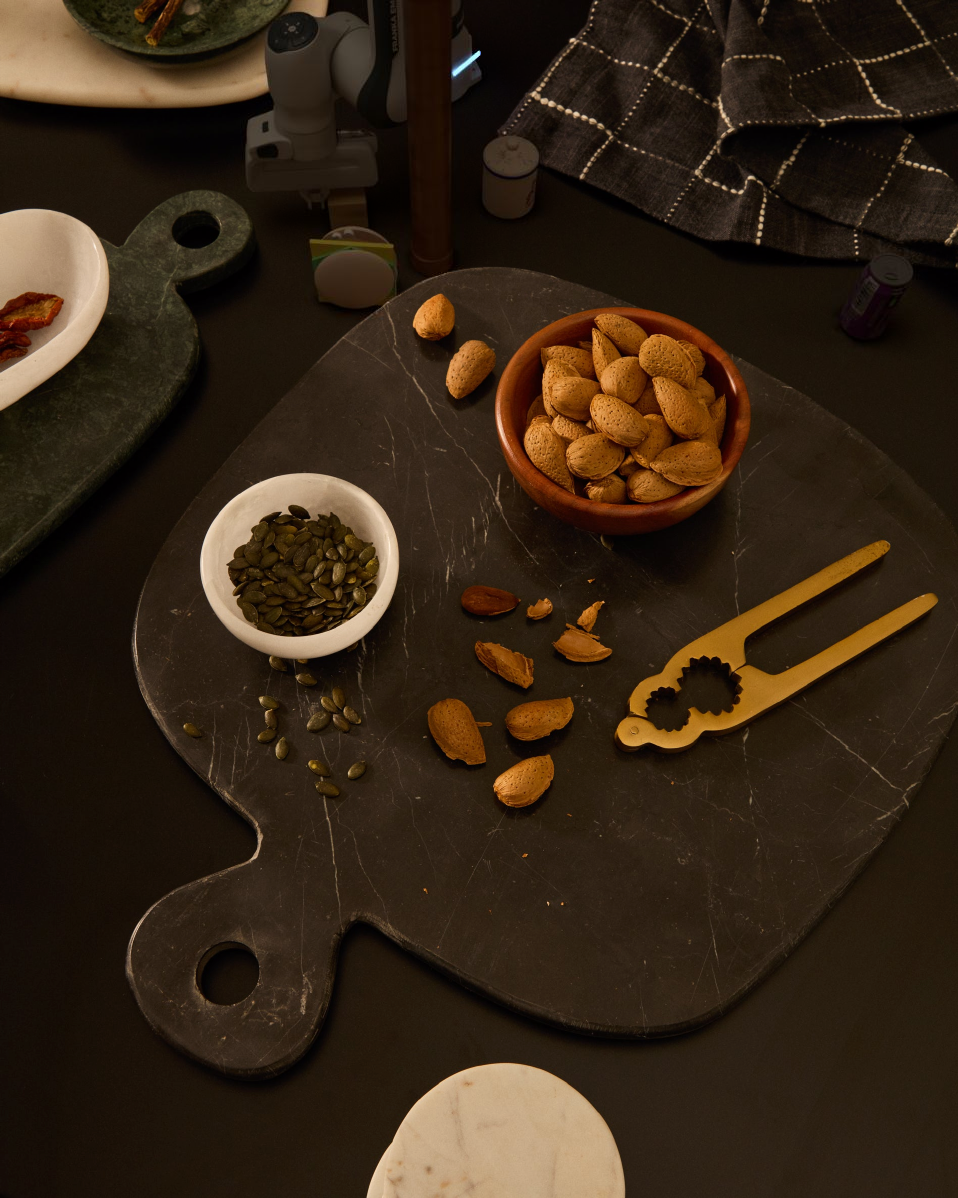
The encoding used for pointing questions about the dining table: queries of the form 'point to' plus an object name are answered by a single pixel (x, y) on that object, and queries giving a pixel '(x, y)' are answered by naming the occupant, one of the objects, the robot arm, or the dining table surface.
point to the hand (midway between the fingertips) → (316, 206)
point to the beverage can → (876, 296)
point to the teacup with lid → (509, 176)
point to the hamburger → (354, 268)
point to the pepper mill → (429, 131)
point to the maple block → (347, 207)
